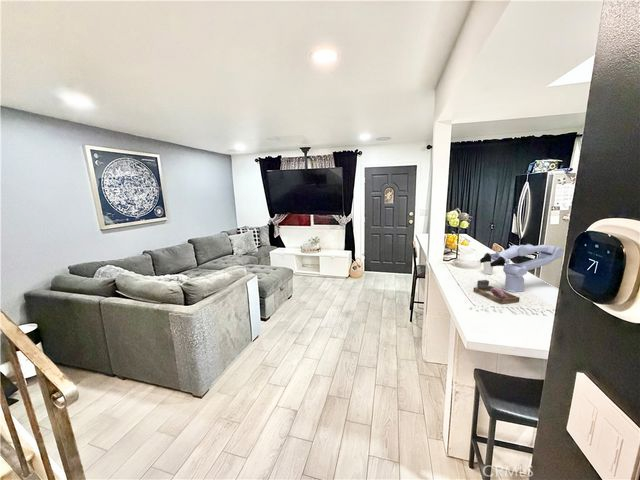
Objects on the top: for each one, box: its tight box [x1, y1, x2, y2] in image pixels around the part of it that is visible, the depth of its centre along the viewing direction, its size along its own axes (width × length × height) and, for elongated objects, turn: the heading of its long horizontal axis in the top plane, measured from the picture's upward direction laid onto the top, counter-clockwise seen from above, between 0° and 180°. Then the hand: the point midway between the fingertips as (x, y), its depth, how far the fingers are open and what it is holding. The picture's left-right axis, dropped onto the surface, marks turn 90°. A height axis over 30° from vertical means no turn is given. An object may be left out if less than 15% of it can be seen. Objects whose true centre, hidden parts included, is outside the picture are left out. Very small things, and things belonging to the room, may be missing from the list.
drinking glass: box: [483, 252, 494, 275], centre depth 190 cm, size 7×7×15 cm
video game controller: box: [489, 287, 509, 299], centre depth 147 cm, size 10×5×7 cm, turn 5°
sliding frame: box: [473, 279, 520, 305], centre depth 150 cm, size 20×12×6 cm, turn 12°
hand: (485, 263), depth 154 cm, fingers open, 7 cm apart
